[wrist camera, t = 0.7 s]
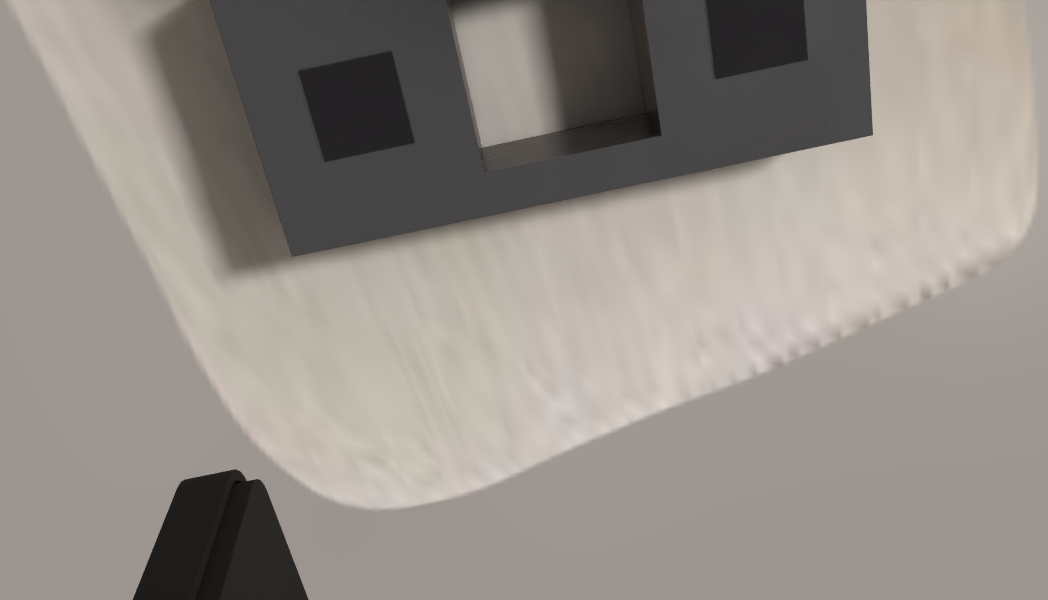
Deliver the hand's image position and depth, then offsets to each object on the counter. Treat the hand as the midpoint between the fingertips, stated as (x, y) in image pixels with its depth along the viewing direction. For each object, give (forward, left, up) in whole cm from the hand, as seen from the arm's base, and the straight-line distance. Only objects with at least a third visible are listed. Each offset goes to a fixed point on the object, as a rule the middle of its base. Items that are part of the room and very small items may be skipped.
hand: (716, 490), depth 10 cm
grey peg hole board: (0, 0, -27) cm, 27 cm away
